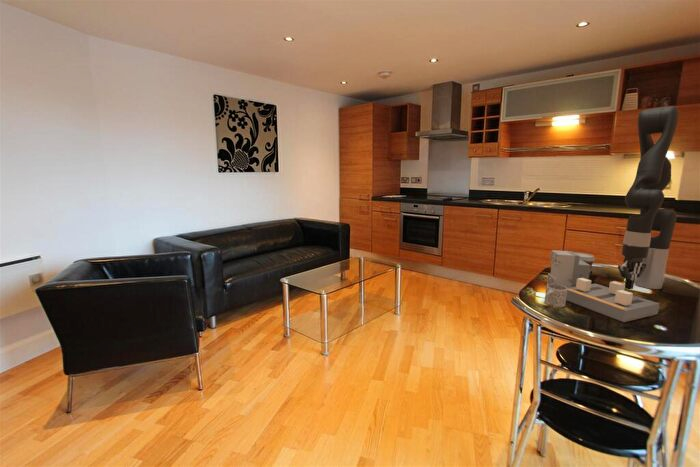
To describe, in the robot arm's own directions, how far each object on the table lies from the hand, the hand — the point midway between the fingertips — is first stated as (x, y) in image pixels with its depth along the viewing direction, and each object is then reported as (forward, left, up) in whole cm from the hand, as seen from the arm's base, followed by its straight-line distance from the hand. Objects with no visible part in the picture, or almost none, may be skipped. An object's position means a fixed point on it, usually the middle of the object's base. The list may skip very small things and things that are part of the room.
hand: (628, 288), depth 130 cm
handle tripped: (+7, 0, -1) cm, 7 cm away
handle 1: (+15, -7, -1) cm, 16 cm away
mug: (+29, -8, -6) cm, 30 cm away
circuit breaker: (+6, -19, -6) cm, 21 cm away
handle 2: (+15, +7, -1) cm, 16 cm away
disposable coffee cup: (-7, -24, -6) cm, 26 cm away
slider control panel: (+11, 0, -5) cm, 12 cm away
